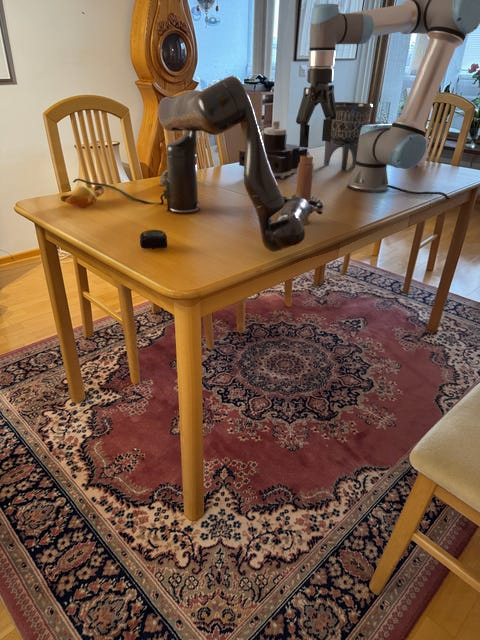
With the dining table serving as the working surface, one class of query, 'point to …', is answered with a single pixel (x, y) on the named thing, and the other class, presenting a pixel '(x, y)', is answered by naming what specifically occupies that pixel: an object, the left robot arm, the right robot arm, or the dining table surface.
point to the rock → (164, 177)
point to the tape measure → (153, 239)
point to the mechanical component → (279, 151)
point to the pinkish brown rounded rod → (304, 177)
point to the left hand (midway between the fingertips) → (304, 198)
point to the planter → (347, 130)
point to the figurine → (424, 155)
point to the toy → (83, 196)
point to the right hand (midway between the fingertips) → (315, 144)
